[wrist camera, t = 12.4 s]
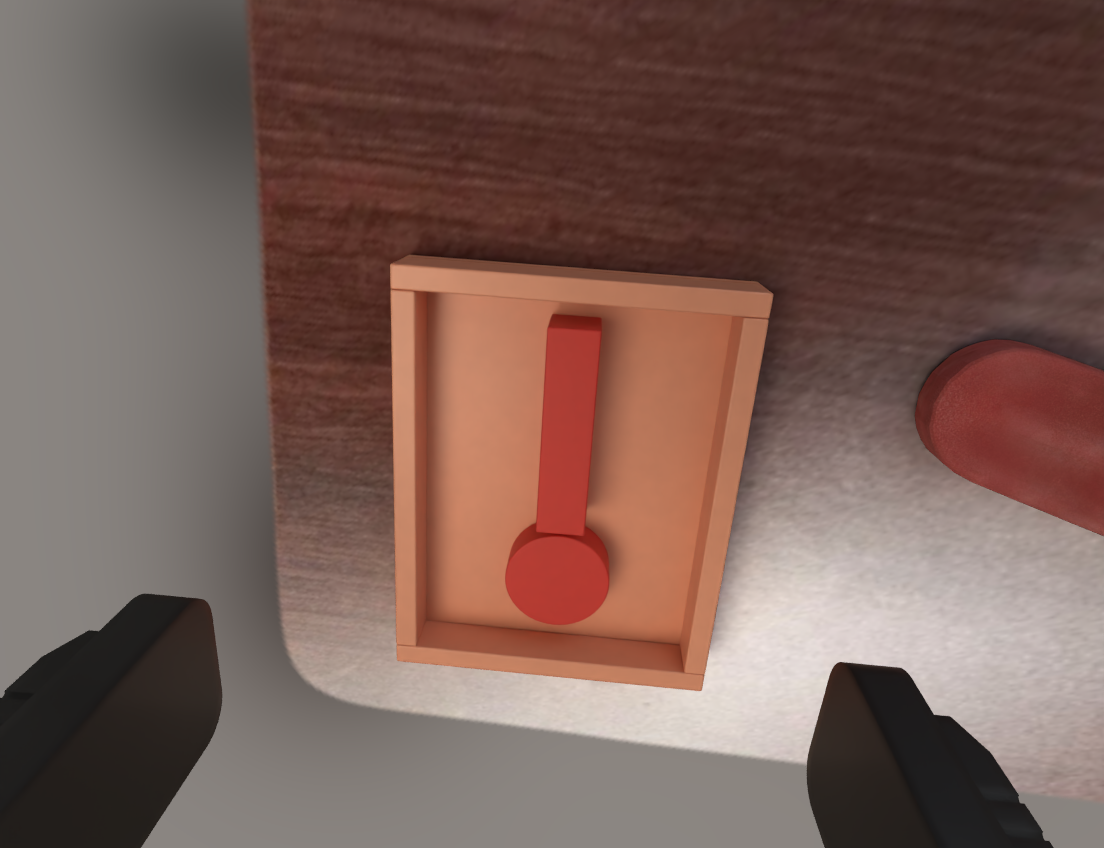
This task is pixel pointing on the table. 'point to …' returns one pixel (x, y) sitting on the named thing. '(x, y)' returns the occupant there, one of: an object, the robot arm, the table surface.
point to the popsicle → (1020, 426)
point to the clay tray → (615, 473)
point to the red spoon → (563, 487)
